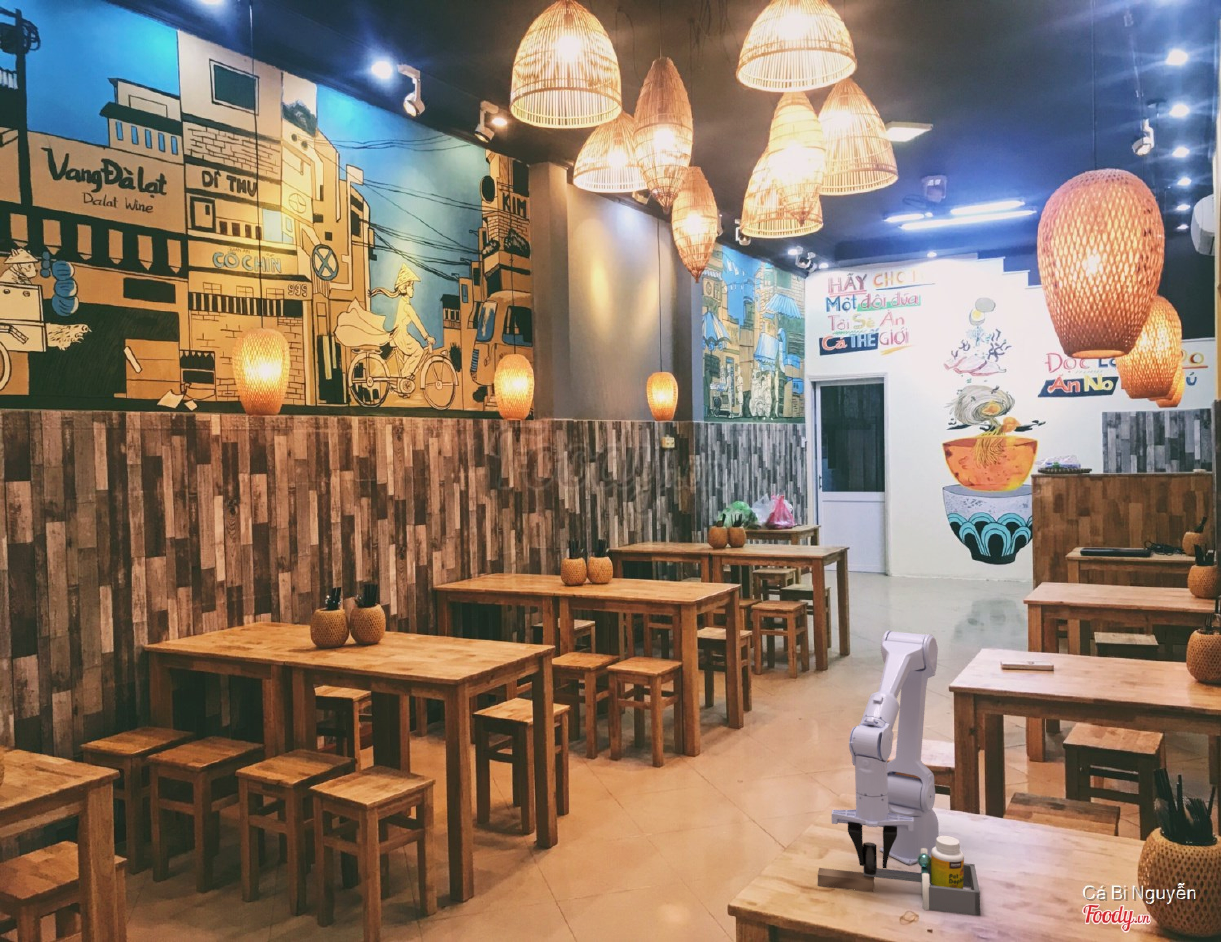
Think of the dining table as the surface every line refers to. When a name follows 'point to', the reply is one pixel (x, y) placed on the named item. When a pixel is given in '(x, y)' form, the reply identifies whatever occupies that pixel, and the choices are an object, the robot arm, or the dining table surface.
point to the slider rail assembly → (873, 871)
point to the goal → (952, 893)
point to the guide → (845, 880)
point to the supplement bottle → (947, 863)
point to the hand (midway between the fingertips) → (873, 864)
